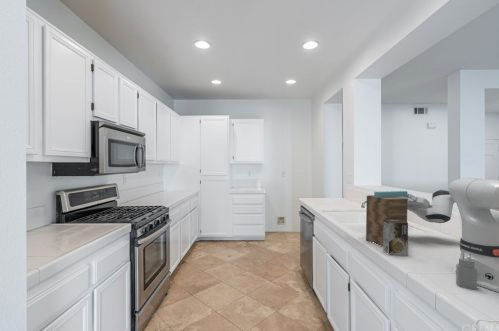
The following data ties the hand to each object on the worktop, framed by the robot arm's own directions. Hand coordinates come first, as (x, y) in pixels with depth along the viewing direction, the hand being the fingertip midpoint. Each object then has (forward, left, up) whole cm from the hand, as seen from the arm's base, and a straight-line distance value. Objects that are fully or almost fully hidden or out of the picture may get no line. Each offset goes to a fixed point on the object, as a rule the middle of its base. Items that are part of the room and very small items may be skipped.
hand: (400, 193), depth 140 cm
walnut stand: (0, +11, -27) cm, 30 cm away
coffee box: (-13, +19, -28) cm, 36 cm away
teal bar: (0, +7, -1) cm, 8 cm away
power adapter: (-46, +23, -28) cm, 58 cm away
